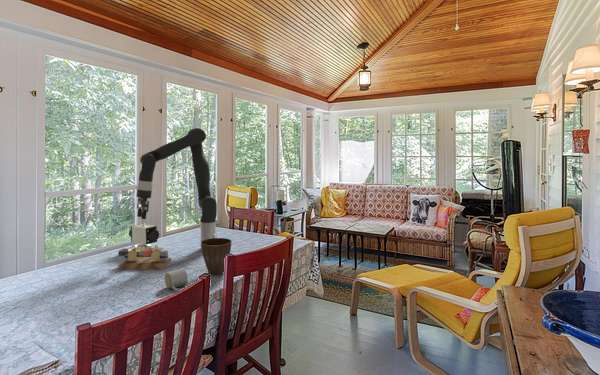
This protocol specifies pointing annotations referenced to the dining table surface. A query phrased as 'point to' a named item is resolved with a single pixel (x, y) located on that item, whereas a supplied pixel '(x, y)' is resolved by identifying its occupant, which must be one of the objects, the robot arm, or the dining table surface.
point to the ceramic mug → (176, 279)
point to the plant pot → (215, 254)
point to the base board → (144, 264)
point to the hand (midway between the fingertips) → (141, 217)
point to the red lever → (150, 251)
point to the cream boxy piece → (144, 235)
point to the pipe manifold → (138, 253)
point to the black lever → (126, 250)
